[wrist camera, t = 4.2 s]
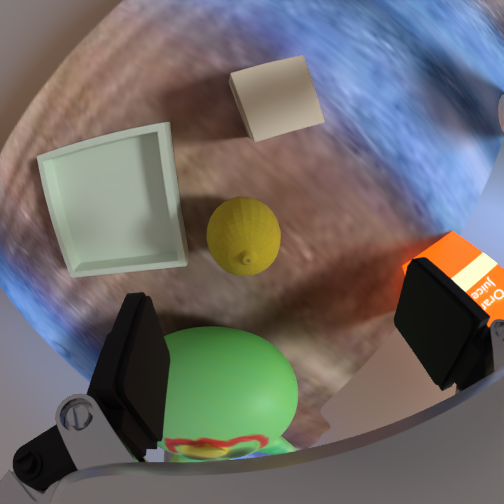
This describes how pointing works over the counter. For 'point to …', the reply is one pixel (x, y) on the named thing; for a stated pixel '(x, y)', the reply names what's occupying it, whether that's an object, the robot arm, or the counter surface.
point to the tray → (116, 202)
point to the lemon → (243, 236)
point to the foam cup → (501, 112)
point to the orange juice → (469, 272)
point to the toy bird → (226, 395)
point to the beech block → (276, 98)
